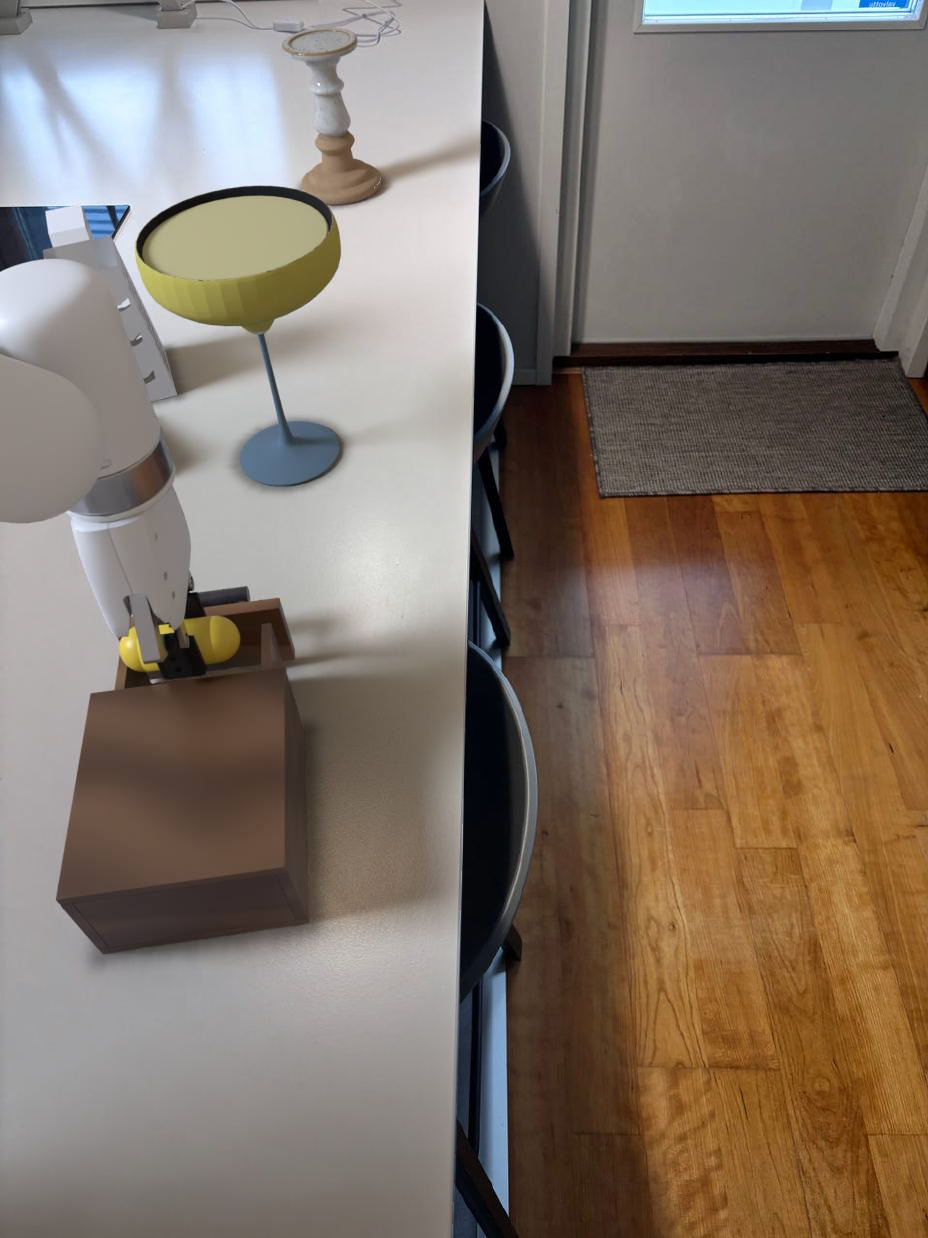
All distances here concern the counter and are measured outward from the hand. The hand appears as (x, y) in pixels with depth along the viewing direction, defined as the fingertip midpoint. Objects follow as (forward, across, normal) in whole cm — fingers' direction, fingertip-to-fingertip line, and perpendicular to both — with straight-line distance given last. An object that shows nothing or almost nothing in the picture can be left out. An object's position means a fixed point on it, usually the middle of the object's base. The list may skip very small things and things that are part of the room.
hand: (187, 651), depth 73 cm
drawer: (+8, 0, 0) cm, 8 cm away
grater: (+9, -52, -13) cm, 54 cm away
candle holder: (+9, -98, +15) cm, 100 cm away
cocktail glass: (+9, -34, +6) cm, 36 cm away
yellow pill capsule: (0, -1, 0) cm, 1 cm away
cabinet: (+9, +11, 0) cm, 14 cm away
